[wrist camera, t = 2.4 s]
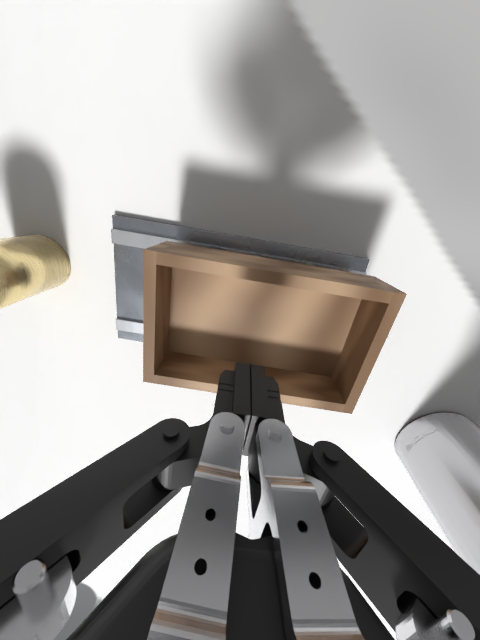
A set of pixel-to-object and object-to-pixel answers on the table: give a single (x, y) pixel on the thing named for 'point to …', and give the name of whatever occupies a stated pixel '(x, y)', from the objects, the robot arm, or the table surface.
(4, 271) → the brass fitting
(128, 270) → the track
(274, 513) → the robot arm
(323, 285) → the tray
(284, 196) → the table surface
